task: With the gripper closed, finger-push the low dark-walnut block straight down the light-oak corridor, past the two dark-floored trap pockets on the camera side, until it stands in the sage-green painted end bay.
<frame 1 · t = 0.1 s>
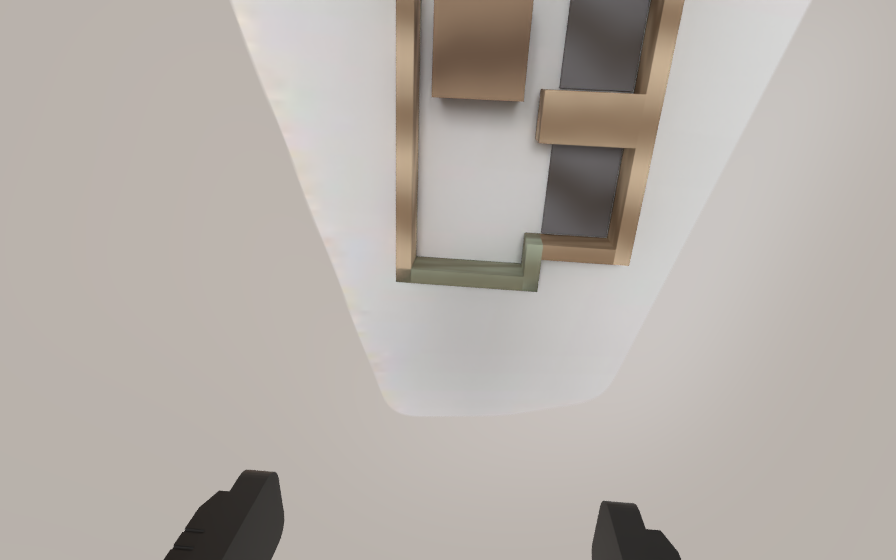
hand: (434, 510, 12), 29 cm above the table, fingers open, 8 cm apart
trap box: (477, 118, 36), on the table
walnut block: (481, 52, 34), resting in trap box
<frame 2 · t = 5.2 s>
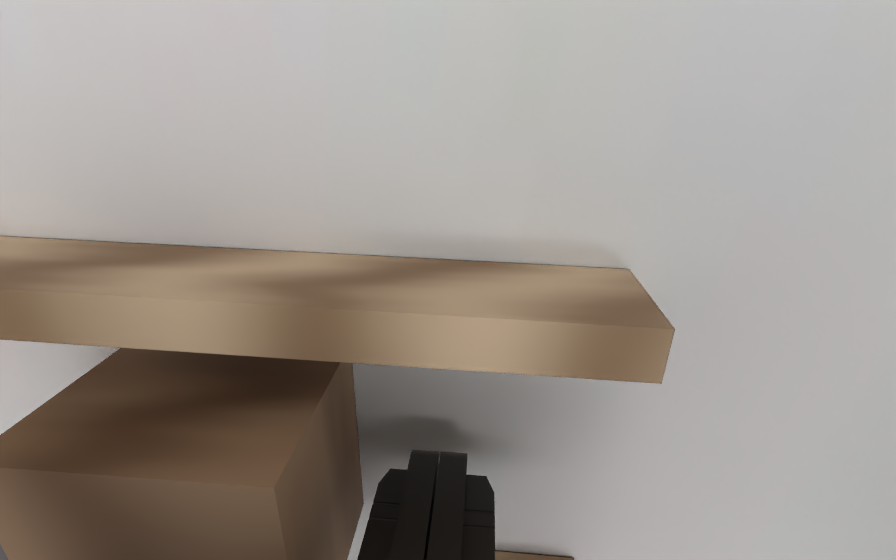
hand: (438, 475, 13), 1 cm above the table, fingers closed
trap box: (148, 417, 14), on the table
walnut block: (260, 423, 14), resting in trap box, touching gripper
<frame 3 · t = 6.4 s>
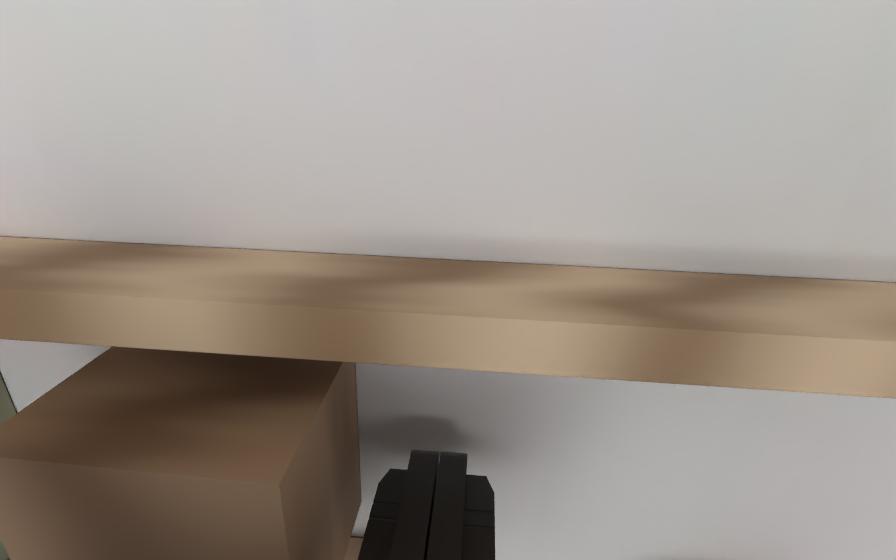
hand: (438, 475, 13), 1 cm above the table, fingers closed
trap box: (373, 433, 14), on the table
walnut block: (260, 418, 14), resting in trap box, touching gripper
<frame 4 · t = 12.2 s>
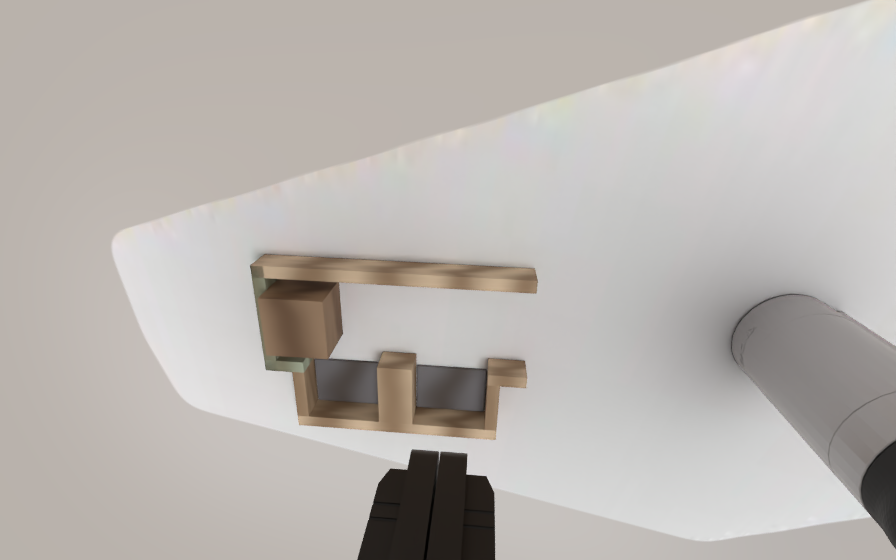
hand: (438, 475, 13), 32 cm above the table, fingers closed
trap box: (394, 314, 47), on the table
walnut block: (312, 305, 48), resting in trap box
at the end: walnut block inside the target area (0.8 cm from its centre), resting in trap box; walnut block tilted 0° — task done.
